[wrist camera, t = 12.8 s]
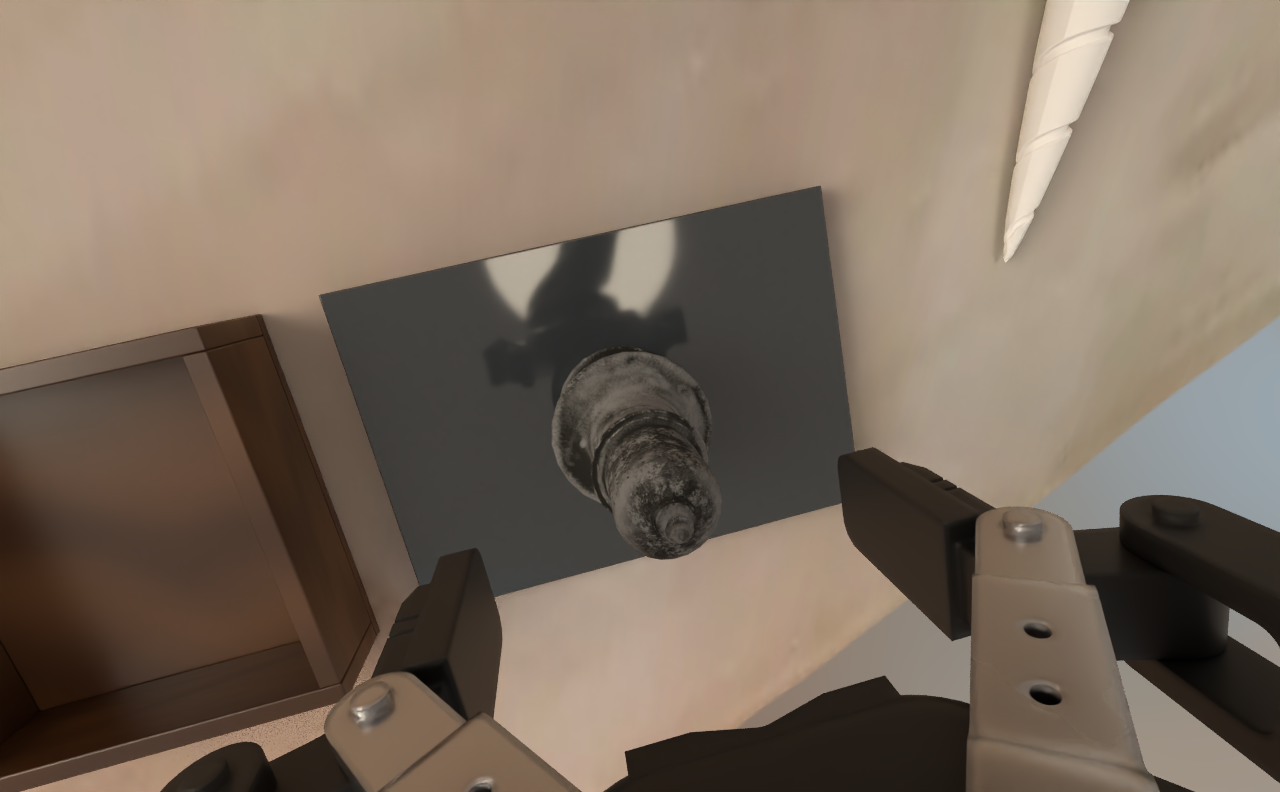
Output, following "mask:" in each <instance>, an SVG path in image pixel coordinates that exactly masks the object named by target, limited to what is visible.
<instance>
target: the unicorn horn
mask: <svg viewBox="0 0 1280 792" xmlns="http://www.w3.org/2000/svg"><path fill="white" fill-rule="evenodd" d="M1129 1H1130V0H1047V1H1046V6H1045V10H1044V15H1043V20H1042V24H1041V29H1040V34H1039V38H1038V43H1037V48H1036V53H1035V58H1034V63H1033V70H1032V74H1033V77H1032V78H1031V80H1030V83H1029V89H1028V94H1027V99H1026V104H1025V110H1024V115H1023V120H1022V125H1021V131H1020V136H1019V142H1018V148H1017V153H1016V163H1017V164H1016V166H1015V168H1014V170H1013V176H1012V182H1011V188H1010V195H1009V201H1008V208H1007V214H1006V222H1005V231H1004V244H1005V246H1004V251H1003V257H1004V260H1005V263H1006V262H1007V261H1008V260H1009V259H1010V258H1011V257H1012V256H1013V254H1014V252H1015V251H1016V249H1017V248H1018V246H1019V244H1020V243H1021V241H1022V239H1023V237H1024V235H1025V233H1026V231H1027V229H1028V227H1029V225H1030V223H1031V221H1032V219H1033V217H1034V209H1036V208H1037V207H1038V206H1039V204H1040V202H1041V200H1042V198H1043V196H1044V194H1045V192H1046V190H1047V187H1048V185H1049V183H1050V181H1051V179H1052V176H1053V174H1054V172H1055V170H1056V168H1057V165H1058V163H1059V161H1060V159H1061V156H1062V154H1063V152H1064V150H1065V148H1066V145H1067V143H1068V141H1069V139H1070V136H1071V134H1072V132H1073V131H1072V129H1071V128H1070V127H1069V124H1070V123H1072V122H1074V121H1075V120H1077V119H1078V118H1079V116H1080V114H1081V111H1082V109H1083V107H1084V105H1085V102H1086V100H1087V98H1088V95H1089V93H1090V91H1091V89H1092V86H1093V84H1094V82H1095V79H1096V77H1097V75H1098V72H1099V70H1100V68H1101V65H1102V63H1103V60H1104V58H1105V56H1106V53H1107V51H1108V49H1109V46H1110V44H1111V41H1112V39H1113V37H1114V34H1113V33H1112V32H1110V31H1109V29H1110V27H1111V25H1113V24H1117V23H1119V22H1120V21H1121V19H1122V17H1123V15H1124V12H1125V10H1126V8H1127V5H1128V3H1129Z"/></svg>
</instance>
